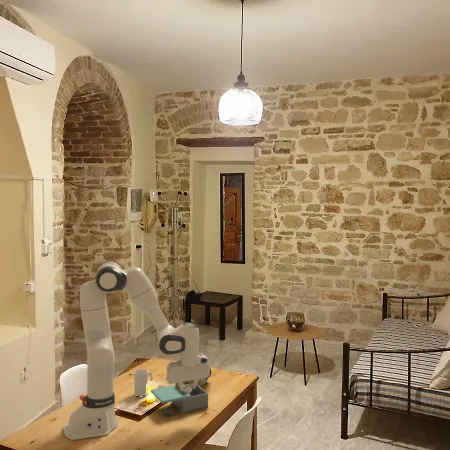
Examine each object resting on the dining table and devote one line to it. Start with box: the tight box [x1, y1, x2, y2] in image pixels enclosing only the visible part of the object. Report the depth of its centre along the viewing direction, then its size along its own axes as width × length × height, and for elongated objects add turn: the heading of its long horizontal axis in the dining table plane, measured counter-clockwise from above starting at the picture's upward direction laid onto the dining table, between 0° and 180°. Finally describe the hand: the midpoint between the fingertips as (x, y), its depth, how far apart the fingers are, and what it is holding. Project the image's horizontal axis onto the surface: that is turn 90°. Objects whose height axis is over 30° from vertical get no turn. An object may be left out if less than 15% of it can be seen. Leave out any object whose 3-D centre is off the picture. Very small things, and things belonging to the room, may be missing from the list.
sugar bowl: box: [187, 367, 212, 387], centre depth 257 cm, size 20×15×15 cm
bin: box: [171, 384, 209, 415], centre depth 231 cm, size 13×13×7 cm
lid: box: [150, 383, 191, 404], centre depth 225 cm, size 14×14×4 cm
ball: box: [164, 406, 174, 417], centre depth 220 cm, size 4×4×4 cm
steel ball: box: [184, 383, 192, 394], centre depth 215 cm, size 4×4×4 cm
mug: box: [133, 368, 154, 397], centre depth 242 cm, size 10×7×12 cm, turn 130°
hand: (187, 389), depth 215 cm, fingers closed on steel ball, 4 cm apart
